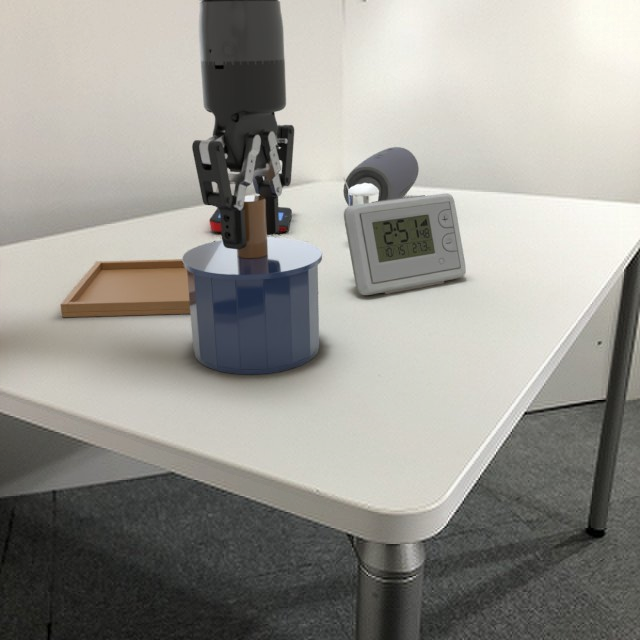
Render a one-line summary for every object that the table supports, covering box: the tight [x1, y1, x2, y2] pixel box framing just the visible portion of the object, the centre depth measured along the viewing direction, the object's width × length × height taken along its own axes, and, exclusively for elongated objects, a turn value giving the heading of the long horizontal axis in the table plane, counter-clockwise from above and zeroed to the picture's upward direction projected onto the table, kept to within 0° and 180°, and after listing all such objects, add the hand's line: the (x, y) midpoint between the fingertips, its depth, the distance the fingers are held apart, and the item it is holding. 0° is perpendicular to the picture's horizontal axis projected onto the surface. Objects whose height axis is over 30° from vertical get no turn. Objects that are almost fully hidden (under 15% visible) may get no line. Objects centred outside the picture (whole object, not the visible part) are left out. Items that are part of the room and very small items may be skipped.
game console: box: [209, 206, 293, 234], centre depth 130 cm, size 14×13×2 cm
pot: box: [187, 264, 320, 375], centre depth 78 cm, size 13×13×10 cm
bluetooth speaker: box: [342, 146, 420, 207], centre depth 138 cm, size 23×9×10 cm, turn 162°
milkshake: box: [342, 176, 379, 207], centre depth 116 cm, size 4×5×10 cm
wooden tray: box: [60, 258, 191, 318], centre depth 97 cm, size 18×18×2 cm
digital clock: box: [343, 192, 467, 296], centre depth 97 cm, size 16×9×11 cm, turn 106°
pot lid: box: [181, 195, 323, 280], centre depth 75 cm, size 14×14×7 cm
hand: (251, 239), depth 75 cm, fingers open, 5 cm apart
